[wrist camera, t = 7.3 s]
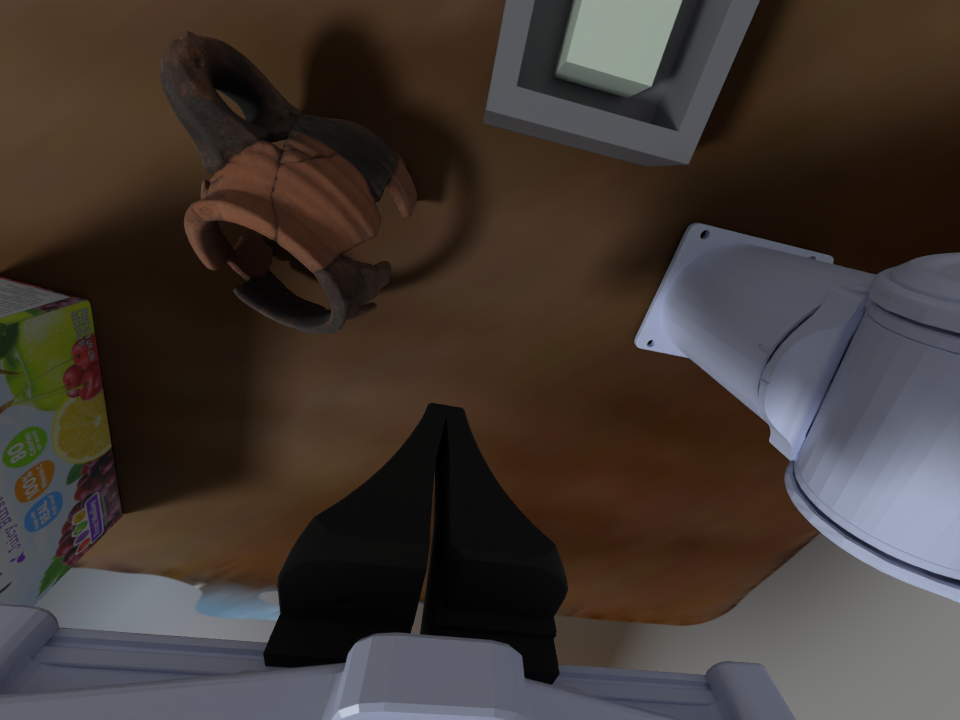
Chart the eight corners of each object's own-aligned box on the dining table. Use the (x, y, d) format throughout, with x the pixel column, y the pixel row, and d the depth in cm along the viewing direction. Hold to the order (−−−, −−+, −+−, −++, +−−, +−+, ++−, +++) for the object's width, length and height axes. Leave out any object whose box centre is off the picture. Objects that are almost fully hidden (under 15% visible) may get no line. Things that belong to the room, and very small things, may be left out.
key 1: (662, -8, 14) (696, -40, 12) (627, 98, 16) (651, 86, 14) (581, -35, 14) (600, -73, 12) (553, 76, 15) (566, 61, 13)
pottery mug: (459, 237, 20) (402, 339, 16) (352, 267, 25) (284, 353, 21) (308, -44, 13) (107, -8, 8) (196, 77, 18) (28, 144, 13)
